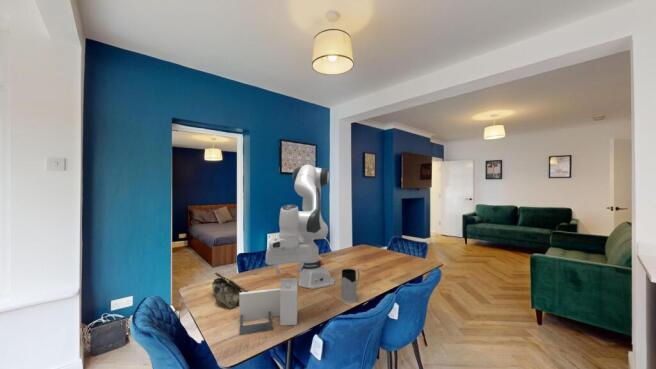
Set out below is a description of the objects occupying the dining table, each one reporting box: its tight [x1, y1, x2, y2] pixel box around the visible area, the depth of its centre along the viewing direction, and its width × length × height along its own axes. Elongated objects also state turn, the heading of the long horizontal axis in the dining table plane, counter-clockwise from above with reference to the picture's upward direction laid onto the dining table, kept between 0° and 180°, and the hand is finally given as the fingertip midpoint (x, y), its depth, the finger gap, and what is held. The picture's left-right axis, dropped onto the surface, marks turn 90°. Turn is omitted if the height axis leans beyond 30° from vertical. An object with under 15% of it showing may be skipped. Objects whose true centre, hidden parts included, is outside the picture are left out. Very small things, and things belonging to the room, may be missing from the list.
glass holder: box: [340, 268, 360, 304], centre depth 142 cm, size 9×14×15 cm, turn 140°
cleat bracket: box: [239, 311, 274, 336], centre depth 114 cm, size 13×10×3 cm
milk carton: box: [279, 277, 298, 326], centre depth 117 cm, size 7×7×19 cm
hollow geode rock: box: [211, 272, 250, 309], centre depth 140 cm, size 28×13×15 cm
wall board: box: [238, 287, 299, 323], centre depth 122 cm, size 26×2×12 cm, turn 107°
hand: (288, 273), depth 117 cm, fingers open, 8 cm apart
